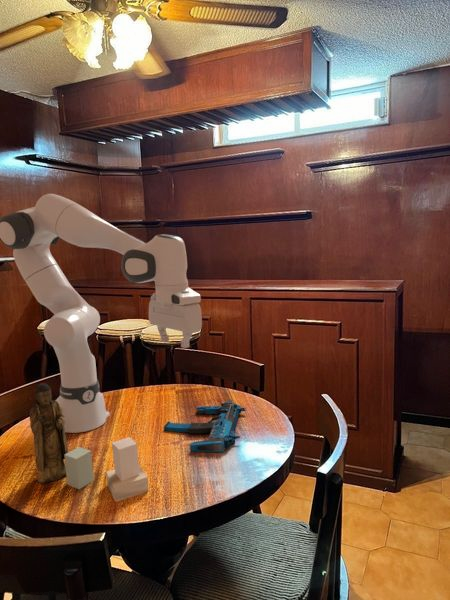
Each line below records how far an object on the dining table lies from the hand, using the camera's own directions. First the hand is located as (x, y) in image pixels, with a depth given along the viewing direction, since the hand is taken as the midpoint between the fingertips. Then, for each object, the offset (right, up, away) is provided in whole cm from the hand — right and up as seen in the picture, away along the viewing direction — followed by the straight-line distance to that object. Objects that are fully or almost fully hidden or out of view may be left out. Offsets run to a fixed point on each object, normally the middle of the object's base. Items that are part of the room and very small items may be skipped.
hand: (174, 344), depth 119 cm
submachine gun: (+8, -29, +19) cm, 36 cm away
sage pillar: (-23, -34, -10) cm, 42 cm away
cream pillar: (-10, -30, -14) cm, 35 cm away
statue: (-30, -34, -8) cm, 46 cm away
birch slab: (-10, -34, -14) cm, 38 cm away
